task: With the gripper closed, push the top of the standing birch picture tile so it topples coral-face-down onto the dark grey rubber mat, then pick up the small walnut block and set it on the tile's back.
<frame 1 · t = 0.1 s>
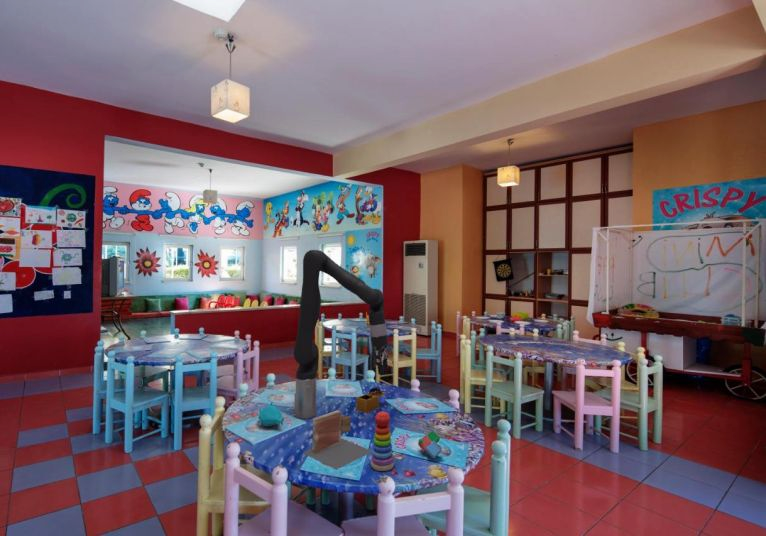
hand: (383, 371, 179), 22 cm above the table, tool pointing down, fingers open, 8 cm apart
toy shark: (271, 427, 173), on the table
spider toy trap: (371, 407, 198), on the table
mat: (338, 453, 149), on the table
block: (343, 431, 169), on the table
stacking toy: (382, 466, 140), on the table
building blocks: (432, 453, 150), on the table
tile: (327, 447, 153), point 1 cm above the table, touching mat
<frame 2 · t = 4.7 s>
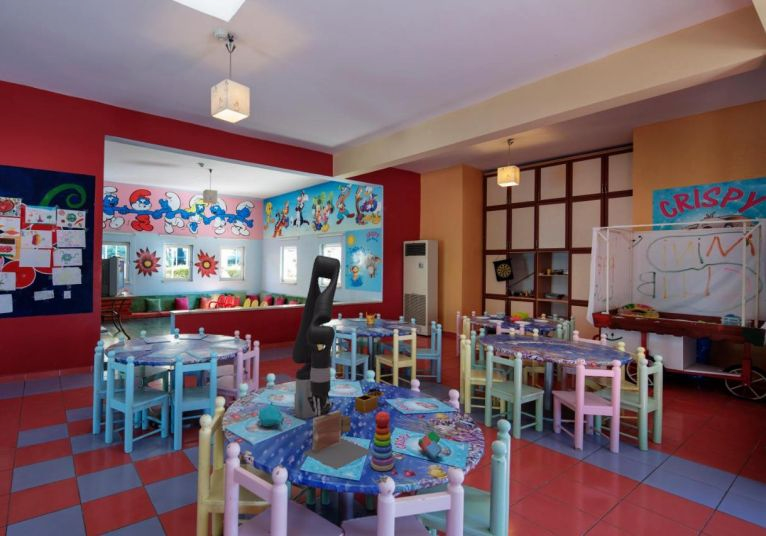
hand: (320, 424, 155), 8 cm above the table, tool pointing down, fingers closed
tile: (327, 447, 153), point 1 cm above the table, touching gripper, mat
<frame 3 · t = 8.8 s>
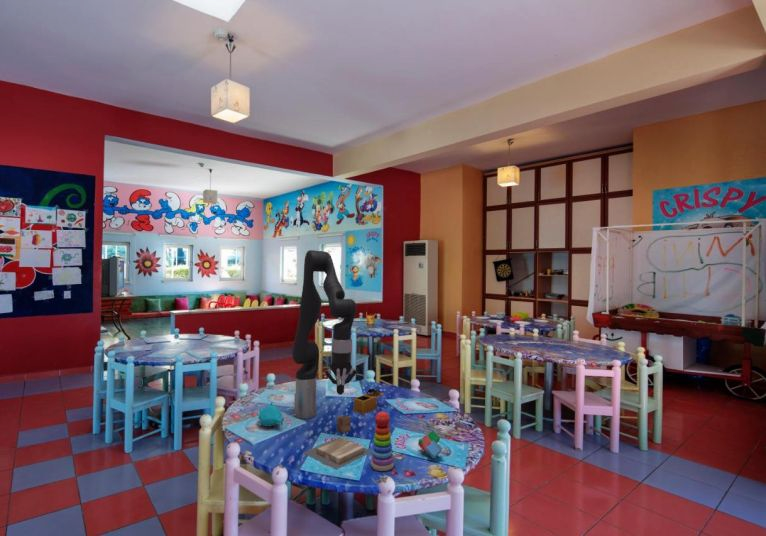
hand: (340, 393, 161), 18 cm above the table, tool pointing down, fingers closed
tile: (329, 445, 152), point 2 cm above the table, tilted 90°, touching mat
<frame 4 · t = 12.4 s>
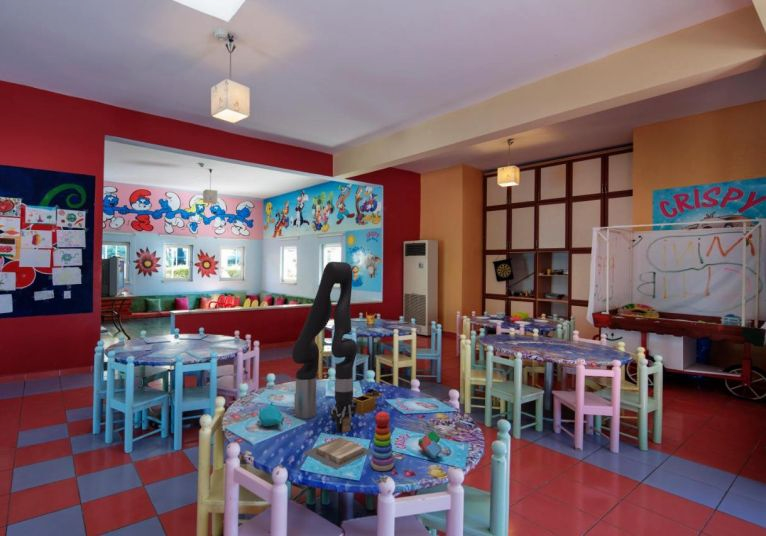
hand: (343, 429, 169), 1 cm above the table, tool pointing down, fingers closed on block, 4 cm apart
block: (343, 431, 169), on the table, touching gripper
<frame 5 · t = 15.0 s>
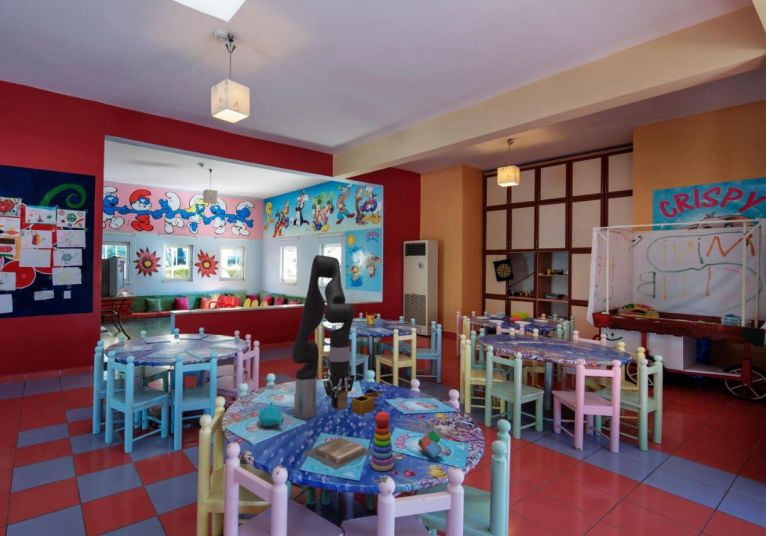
hand: (339, 405, 149), 18 cm above the table, tool pointing down, fingers closed on block, 4 cm apart
block: (339, 408, 149), point 17 cm above the table, touching gripper
when the fingers open (5 cm above the table, at t = 17.7 s): block drops 1 cm, resting on tile.
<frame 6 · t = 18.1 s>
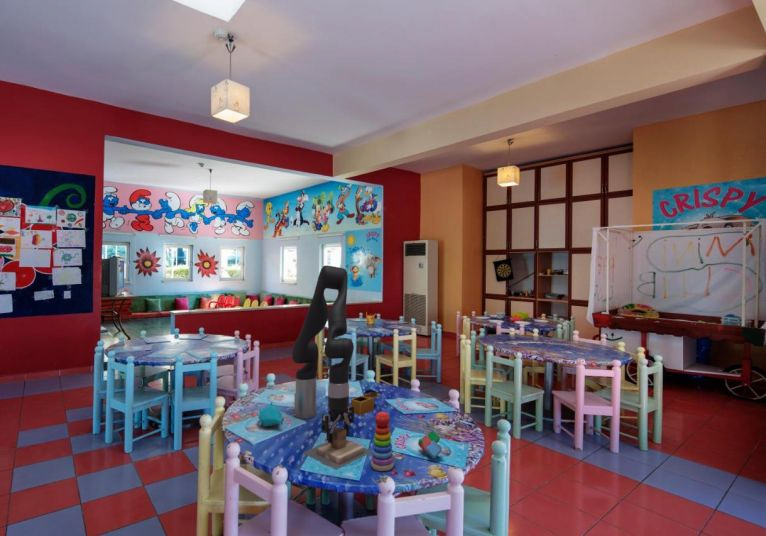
hand: (338, 438, 149), 5 cm above the table, tool pointing down, fingers open, 7 cm apart
block: (338, 446, 149), point 3 cm above the table, touching tile
tile: (329, 445, 152), point 2 cm above the table, tilted 90°, touching block, mat
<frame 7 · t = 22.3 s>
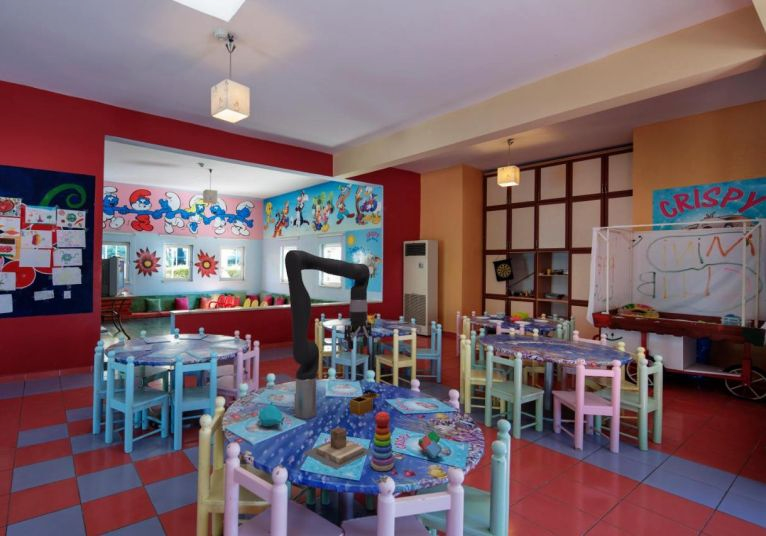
hand: (358, 347, 176), 33 cm above the table, tool pointing down, fingers open, 8 cm apart
at the end: tile tilted 90°; block inside the target area (0.9 cm from its centre), point 2.6 cm above the table; block touching tile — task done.
